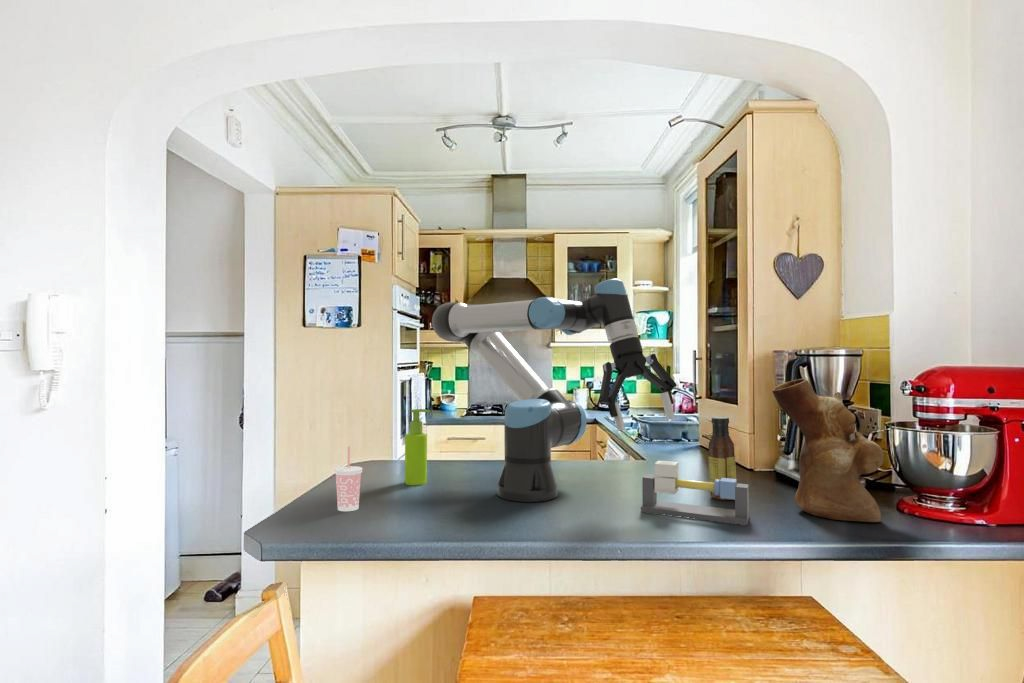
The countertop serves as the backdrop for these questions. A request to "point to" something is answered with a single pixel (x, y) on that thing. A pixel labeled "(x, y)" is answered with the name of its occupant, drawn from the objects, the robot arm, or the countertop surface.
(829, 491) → the ceramic vessel
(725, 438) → the sauce bottle
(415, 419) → the soap dispenser
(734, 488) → the twin post rod stand
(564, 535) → the countertop surface
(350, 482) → the beverage cup
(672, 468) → the sleeve
